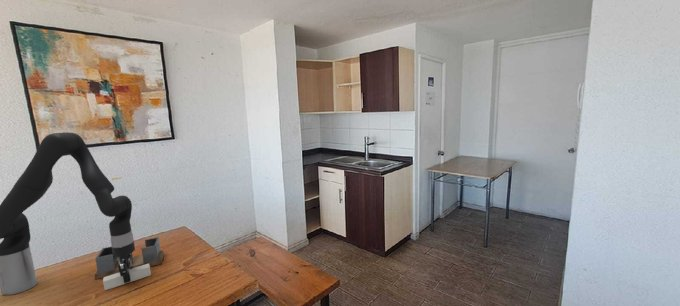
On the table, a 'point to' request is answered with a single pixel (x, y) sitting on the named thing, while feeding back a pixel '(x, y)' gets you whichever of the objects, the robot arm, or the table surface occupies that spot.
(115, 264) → the grey boxes
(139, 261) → the plank
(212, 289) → the table surface
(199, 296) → the table surface
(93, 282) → the table surface
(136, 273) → the block
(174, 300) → the table surface
